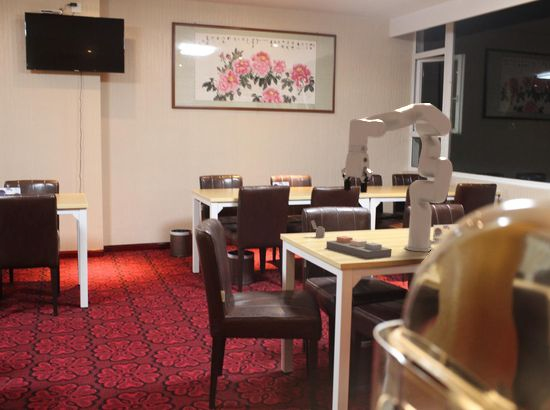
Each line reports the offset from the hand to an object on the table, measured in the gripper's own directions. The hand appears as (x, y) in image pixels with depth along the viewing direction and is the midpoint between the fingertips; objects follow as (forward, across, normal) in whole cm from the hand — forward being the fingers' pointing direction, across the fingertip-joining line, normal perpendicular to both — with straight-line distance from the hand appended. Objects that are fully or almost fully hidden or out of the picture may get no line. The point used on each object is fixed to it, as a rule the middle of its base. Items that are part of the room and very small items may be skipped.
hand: (355, 191), depth 243 cm
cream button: (+25, +8, -11) cm, 29 cm away
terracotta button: (+25, +17, -11) cm, 32 cm away
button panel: (+27, +8, -11) cm, 30 cm away
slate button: (+25, -1, -11) cm, 28 cm away
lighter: (+27, +47, -20) cm, 58 cm away
